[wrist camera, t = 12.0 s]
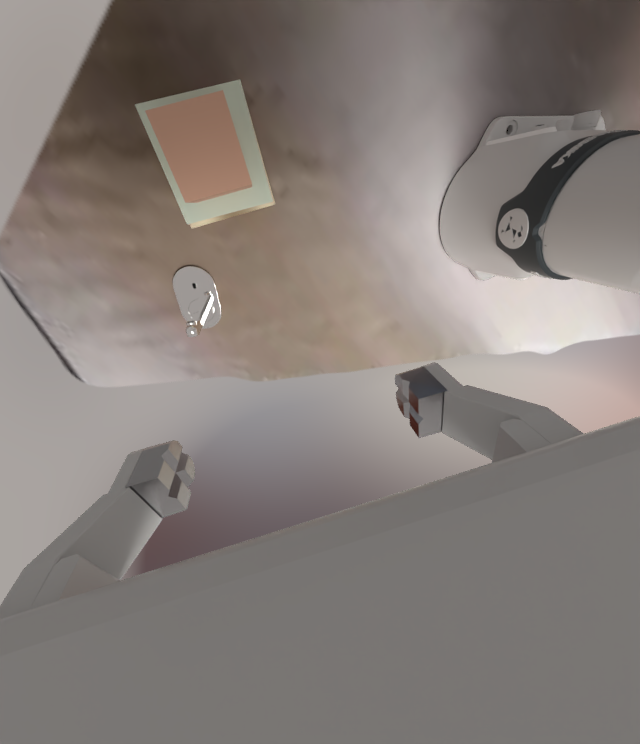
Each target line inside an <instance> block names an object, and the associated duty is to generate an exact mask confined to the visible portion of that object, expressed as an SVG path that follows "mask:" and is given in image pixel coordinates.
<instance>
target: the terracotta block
mask: <svg viewBox="0 0 640 744" xmlns="http://www.w3.org/2000/svg"><path fill="white" fill-rule="evenodd" d="M145 112H146V114H147V116H148V119H149V121H150V123H151V126H152V128H153V130H154V132H155V135H156V137H157V139H158V141H159V144H160V146H161V148H162V151H163V153H164V155H165V157H166V160H167V162H168V164H169V167H170V169H171V171H172V173H173V176H174V178H175V180H176V182H177V185H178V187H179V189H180V192H181V194H182V196H183V198H184V201H185V203H198V202H201V201H205V200H208V199H212V198H215V197H219V196H222V195H226V194H229V193H233V192H236V191H240V190H244V189H247V188H251V187H252V182H251V179H250V176H249V172H248V169H247V166H246V163H245V160H244V156H243V153H242V150H241V147H240V143H239V140H238V137H237V134H236V131H235V127H234V124H233V121H232V118H231V114H230V111H229V108H228V105H227V102H226V98H225V95H224V92H223V90H221V91H218V92H214V93H210V94H206V95H202V96H199V97H195V98H191V99H187V100H184V101H180V102H176V103H172V104H168V105H165V106H161V107H157V108H153V109H149V110H146V111H145Z"/></svg>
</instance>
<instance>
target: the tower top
mask: <svg viewBox="0 0 640 744" xmlns="http://www.w3.org/2000/svg"><path fill="white" fill-rule="evenodd" d="M221 90H223V92H224V95H225V98H226V102H227V105H228V108H229V111H230V114H231V118H232V121H233V124H234V127H235V131H236V134H237V137H238V140H239V143H240V147H241V150H242V153H243V156H244V160H245V163H246V166H247V169H248V172H249V176H250V179H251V182H252V187H251V188H247V189H244V190H240V191H236V192H233V193H229V194H226V195H222V196H219V197H215V198H212V199H208V200H205V201H201V202H198V203H185V201H184V198H183V196H182V194H181V192H180V189H179V187H178V185H177V182H176V180H175V178H174V176H173V173H172V171H171V169H170V167H169V164H168V162H167V160H166V157H165V155H164V153H163V151H162V148H161V146H160V144H159V141H158V139H157V137H156V135H155V132H154V130H153V128H152V126H151V123H150V121H149V119H148V116H147V114H146V112H145V111H146V110H149V109H153V108H157V107H161V106H165V105H168V104H172V103H176V102H180V101H184V100H187V99H191V98H195V97H199V96H202V95H206V94H210V93H214V92H218V91H221ZM135 106H136V109H137V111H138V113H139V116H140V118H141V120H142V122H143V125H144V127H145V129H146V132H147V134H148V136H149V138H150V141H151V143H152V145H153V148H154V150H155V152H156V154H157V157H158V159H159V161H160V164H161V166H162V168H163V170H164V173H165V175H166V177H167V180H168V182H169V184H170V186H171V189H172V191H173V193H174V196H175V198H176V200H177V202H178V205H179V207H180V209H181V212H182V214H183V216H184V218H185V221H186V223H187V224H191V223H195V222H198V221H202V220H206V219H210V218H213V217H217V216H221V215H225V214H228V213H232V212H236V211H240V210H243V209H247V208H251V207H255V206H258V205H262V204H266V203H270V202H273V200H272V196H271V192H270V189H269V185H268V181H267V177H266V174H265V170H264V166H263V163H262V159H261V155H260V151H259V148H258V144H257V140H256V136H255V133H254V129H253V125H252V122H251V118H250V114H249V110H248V107H247V103H246V99H245V95H244V92H243V88H242V84H241V80H235V81H231V82H227V83H223V84H219V85H214V86H210V87H206V88H202V89H198V90H193V91H189V92H185V93H181V94H177V95H172V96H168V97H164V98H160V99H156V100H151V101H147V102H143V103H139V104H135Z"/></svg>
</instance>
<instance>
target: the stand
mask: <svg viewBox="0 0 640 744" xmlns="http://www.w3.org/2000/svg"><path fill="white" fill-rule="evenodd" d="M173 288H174V292H175V295H176V298H177V301H178V304H179V307H180V310H181V313H182V315H183V317H184V319H185V320H186V321H187V322H186V324H187V327H186V333H187V336H188V337H195V336H197V335H199V333H200V331H201V329H202V328H210V327H213V326H214V325H216V324H217V323H218V322H219V320H220V318H221V315H222V309H221V304H220V300H219V296H218V292H217V288H216V284H215V281H214V279H213V278H212V276H211V275H210V274H209V273H208V272H207V271H206V270H204V269H202V268H200V267H197V266H185V267H183V268H181V269H180V270H178V271H177V273H176V274H175V276H174V278H173Z"/></svg>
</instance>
